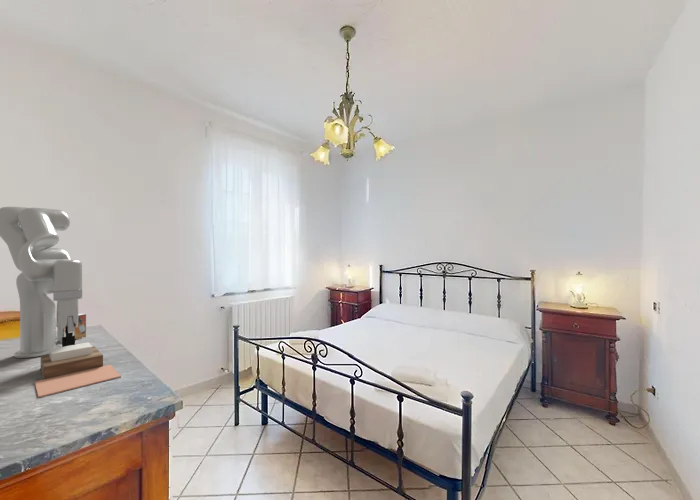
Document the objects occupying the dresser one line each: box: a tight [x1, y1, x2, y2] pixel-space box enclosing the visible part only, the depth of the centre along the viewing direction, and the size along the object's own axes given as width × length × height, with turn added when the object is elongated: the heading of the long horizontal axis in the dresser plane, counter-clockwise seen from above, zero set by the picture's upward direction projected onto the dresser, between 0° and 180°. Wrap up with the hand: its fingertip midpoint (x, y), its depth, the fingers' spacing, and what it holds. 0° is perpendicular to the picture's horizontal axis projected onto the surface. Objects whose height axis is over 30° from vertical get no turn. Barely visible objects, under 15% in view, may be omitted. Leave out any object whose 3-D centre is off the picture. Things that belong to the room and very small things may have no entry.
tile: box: [48, 341, 93, 362], centre depth 104 cm, size 7×10×2 cm
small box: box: [56, 313, 87, 342], centre depth 137 cm, size 8×6×10 cm
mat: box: [34, 364, 122, 399], centre depth 94 cm, size 14×18×1 cm
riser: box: [40, 346, 104, 380], centre depth 104 cm, size 14×14×4 cm
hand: (68, 347), depth 109 cm, fingers closed
